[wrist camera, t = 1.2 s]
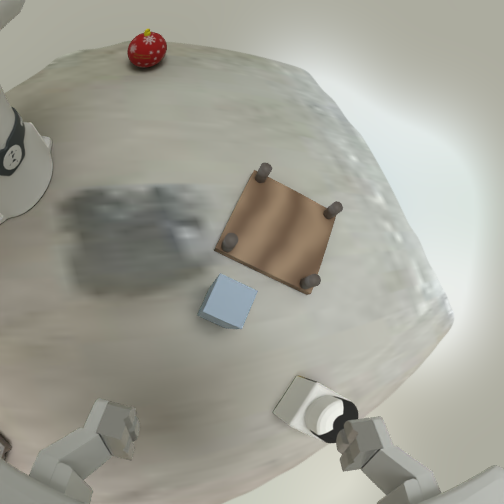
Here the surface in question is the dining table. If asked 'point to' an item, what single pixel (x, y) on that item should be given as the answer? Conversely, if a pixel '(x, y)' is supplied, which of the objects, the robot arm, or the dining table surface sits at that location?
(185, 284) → the dining table surface
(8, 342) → the dining table surface
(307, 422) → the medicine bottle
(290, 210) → the peg board
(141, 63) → the christmas ornament
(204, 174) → the dining table surface
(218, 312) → the blue block
